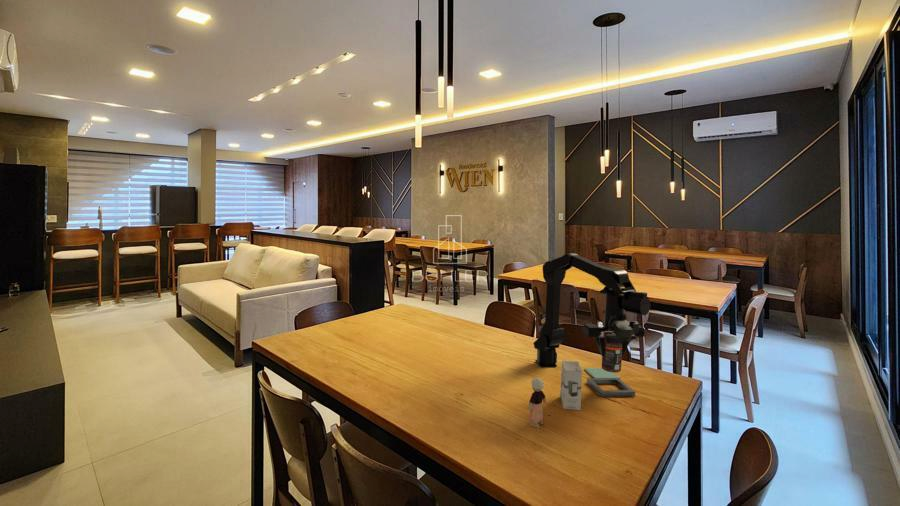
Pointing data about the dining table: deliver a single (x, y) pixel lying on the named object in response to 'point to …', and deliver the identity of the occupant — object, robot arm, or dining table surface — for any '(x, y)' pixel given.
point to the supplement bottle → (612, 354)
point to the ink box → (571, 385)
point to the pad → (600, 373)
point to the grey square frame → (610, 393)
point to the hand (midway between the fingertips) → (611, 356)
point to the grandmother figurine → (536, 403)
